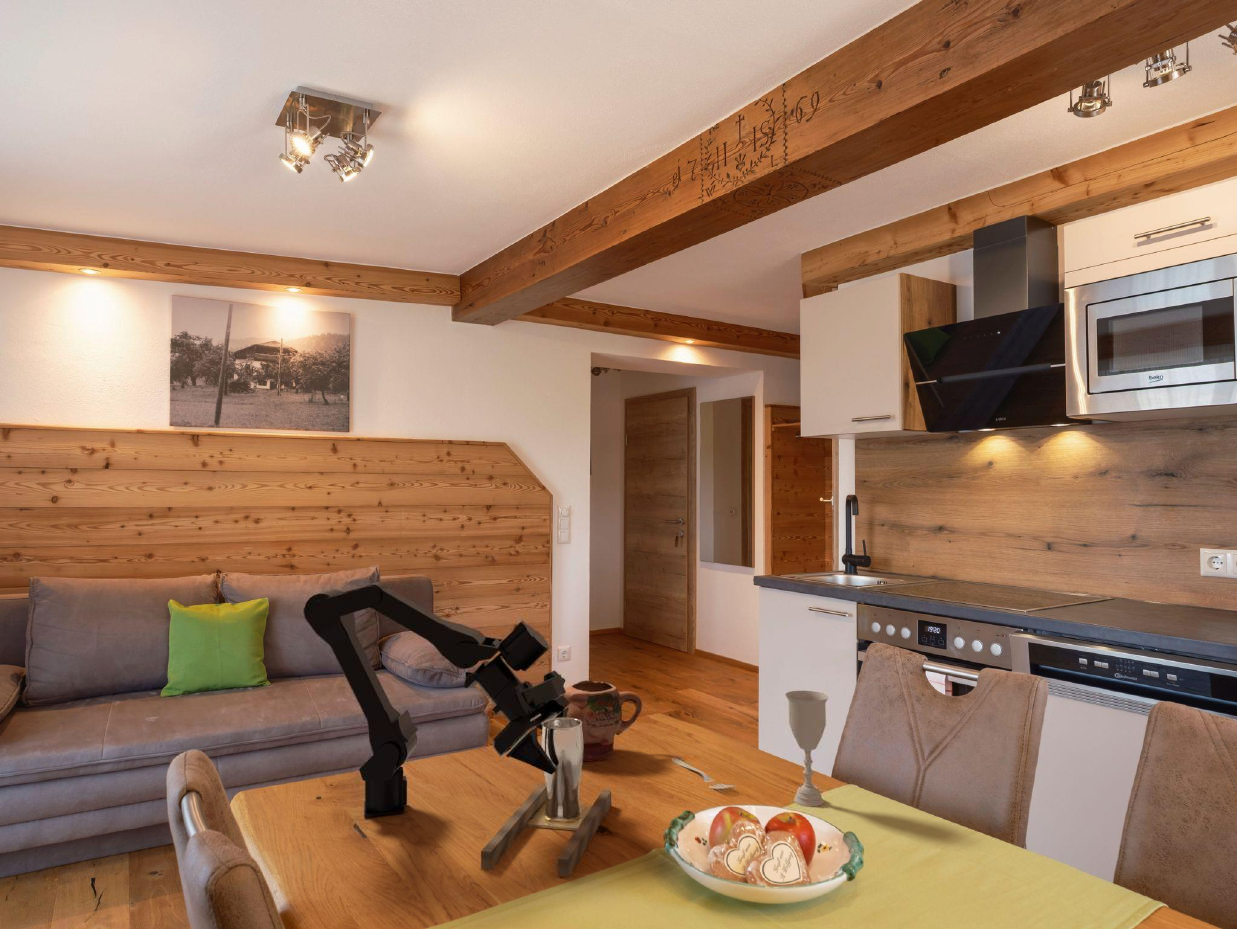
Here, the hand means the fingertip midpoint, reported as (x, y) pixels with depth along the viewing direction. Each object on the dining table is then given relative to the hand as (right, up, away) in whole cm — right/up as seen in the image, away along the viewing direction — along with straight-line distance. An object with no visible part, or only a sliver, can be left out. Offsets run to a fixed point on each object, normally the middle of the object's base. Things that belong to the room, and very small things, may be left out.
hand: (565, 763), depth 132 cm
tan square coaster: (0, -9, 0) cm, 9 cm away
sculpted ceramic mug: (+4, -10, +32) cm, 34 cm away
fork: (+24, -10, +20) cm, 32 cm away
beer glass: (0, -9, 0) cm, 9 cm away
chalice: (+42, -9, +6) cm, 43 cm away
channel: (-2, -9, -6) cm, 11 cm away
